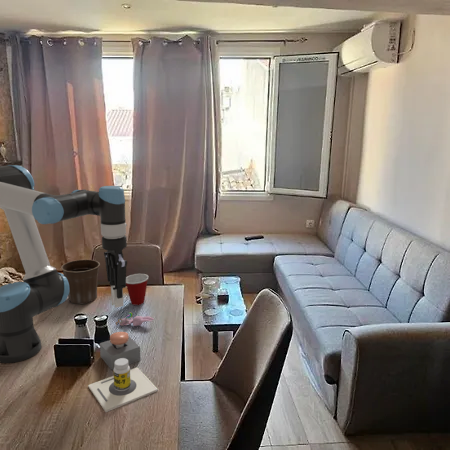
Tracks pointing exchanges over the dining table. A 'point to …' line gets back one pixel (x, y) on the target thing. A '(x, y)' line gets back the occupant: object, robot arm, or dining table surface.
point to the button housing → (119, 352)
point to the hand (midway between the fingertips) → (117, 305)
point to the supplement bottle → (121, 374)
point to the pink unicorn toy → (134, 320)
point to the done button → (119, 339)
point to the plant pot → (81, 280)
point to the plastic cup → (137, 288)
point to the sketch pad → (115, 398)
